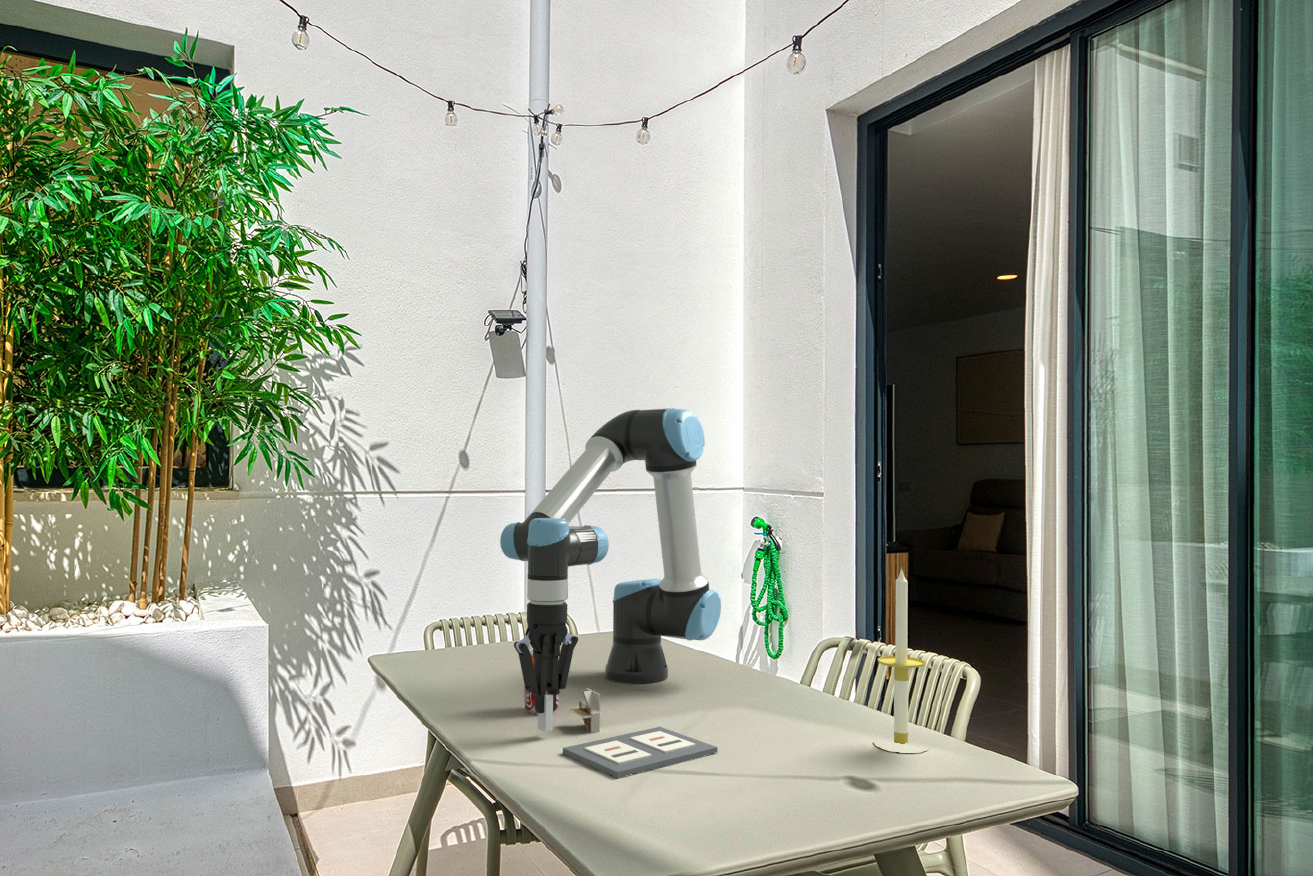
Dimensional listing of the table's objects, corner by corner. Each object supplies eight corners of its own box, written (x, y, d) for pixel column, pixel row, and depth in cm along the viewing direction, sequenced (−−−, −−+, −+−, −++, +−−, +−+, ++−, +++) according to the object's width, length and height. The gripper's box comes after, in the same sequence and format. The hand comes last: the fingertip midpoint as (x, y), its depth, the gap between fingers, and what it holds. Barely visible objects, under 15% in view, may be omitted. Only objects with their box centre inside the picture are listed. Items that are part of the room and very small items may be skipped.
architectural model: (583, 736, 170) (584, 696, 170) (567, 727, 176) (568, 688, 176) (600, 734, 171) (600, 694, 172) (583, 725, 177) (584, 686, 178)
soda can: (552, 717, 181) (553, 656, 182) (519, 714, 183) (520, 654, 183) (563, 708, 188) (564, 650, 189) (530, 705, 190) (531, 648, 190)
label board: (659, 732, 172) (659, 724, 172) (717, 753, 160) (717, 744, 160) (562, 753, 158) (562, 745, 158) (617, 778, 146) (617, 769, 146)
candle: (899, 757, 159) (899, 571, 160) (861, 741, 168) (862, 565, 169) (941, 749, 163) (941, 568, 164) (902, 735, 172) (903, 563, 173)
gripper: (565, 596, 175) (563, 719, 175) (506, 602, 167) (504, 731, 166) (587, 601, 170) (585, 728, 169) (527, 607, 161) (525, 740, 161)
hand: (545, 729), depth 168 cm, fingers closed
